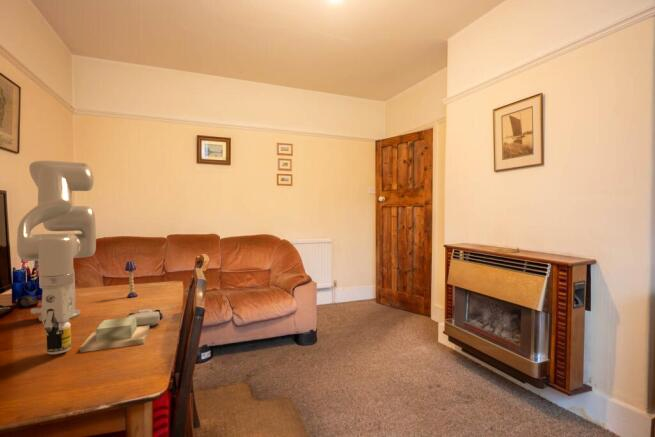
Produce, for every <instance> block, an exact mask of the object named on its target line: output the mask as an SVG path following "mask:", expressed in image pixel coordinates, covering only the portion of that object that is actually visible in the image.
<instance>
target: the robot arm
mask: <svg viewBox="0 0 655 437" xmlns="http://www.w3.org/2000/svg"><path fill="white" fill-rule="evenodd" d="M28 168H29V169H28V170H29V174H30V177H31V179H32V181H33V183H34V184H35V185H36V188H37V205H36V206H35V207H33V208H32V209H30V210H29V211H28V212H27V213H26V214H25V215H24V216H23V217H22V218H21V220H20V221H19V223H18V226H17V232H16V233H17V236H16V237H17V238H16V253H17V255H18V257H19V258H20V259H21V260H23V261H25V262H27V261H28V262H34V261H38V276H39V277H38V280H39V281H38V283H39V284H38V285H39V288H40V289H42V293H41V307H39V308H38V307H37V308H35V307H33V308H31V309H30V314H31V315H39V316H38V321H39V322H42V324H43V325H44V327H43V328H44V330H45V332H46V333H45V335H46V336H47V337H46V350H47V349H48V350H51V349H59V348H61V347H62V333H60V328H61V323H65V322H66V321H67V322H69V323H70V324H71V321H70V319H72V318H75V317H78V316H80V315H82V310H80V309H77V308H76V305H77V304H76V302H77V301H76V282H75V281H76V278H75V276H76V275H75V273H76V272H75V268H74V259H77V258H78V259H80V258H89V257H93V256H94V255H95V253H96V250H97V239H96V238H97V234H96V215H95V211H94V210H93V208H92V207H90V206H87V205H86V206H85V205H73V195H72V194H73V193H72V192H73V191H74V192H89V191H92V189H93V186H94V183H95V182H94V174H93V171H92V168H91V166H90V165H89V164H88V163H86V162H85V163H84V162H72V161H59V160H36V161H32V162H31V163H30V164H29V166H28ZM41 224H42V225H43V228H44V229H45V230H46V231H50V232H64V233H41V234H40V233H38V234H31V231H32V230H33V229H34V228H35V227H37V226H38V225H41ZM74 231H76V232H77V231H79V232H81V233H69V232H74ZM65 232H68V233H65ZM53 321H57V322H58V323H53ZM53 325H57V329H56V328H55V327H53Z"/></svg>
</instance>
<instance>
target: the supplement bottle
mask: <svg viewBox="0 0 655 437" xmlns="http://www.w3.org/2000/svg"><path fill="white" fill-rule="evenodd" d="M53 323H58V322H57V321H53ZM53 327H55V328H56V329H57V325H53ZM71 328H72V324H71V322H70V323H69V322H67V321H66V322H65V323H61V328H60V333H62V347H61V348H59V349H51V350H48V349H47V348H46V353H47V354H49V355H60V354H62V353H65V352H68V351H70V349H71V348H72V332H71V330H72V329H71ZM46 338H47V336H46Z"/></svg>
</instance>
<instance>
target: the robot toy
mask: <svg viewBox="0 0 655 437" xmlns="http://www.w3.org/2000/svg"><path fill="white" fill-rule="evenodd" d="M127 317H136V325H137V327H139V326H147V325H149V327H153V326H155V325H157V324H158V323H159V322H160V321H162V319H163V318H164V317H165V316H164V314H163V313H162V310H160V309H155V310H152V309H151V308H146V309H145V308H144V309H140V310H137V312H136V313H135V312H129V313H128V314H127Z"/></svg>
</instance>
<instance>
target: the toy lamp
mask: <svg viewBox="0 0 655 437" xmlns="http://www.w3.org/2000/svg"><path fill="white" fill-rule="evenodd" d="M136 270H137V266H136V264H135V261H134V260H129V261H126V264H125V267H124V271H126V272H128V276H129V277H128V282H129V293H128V294H127V297H128V298H127V297H126V298H127V299H130V298H131V297H133V298H137V297H138V296H139V295H138V293H136V292H135V284H134V271H136ZM131 299H132V298H131Z"/></svg>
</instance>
